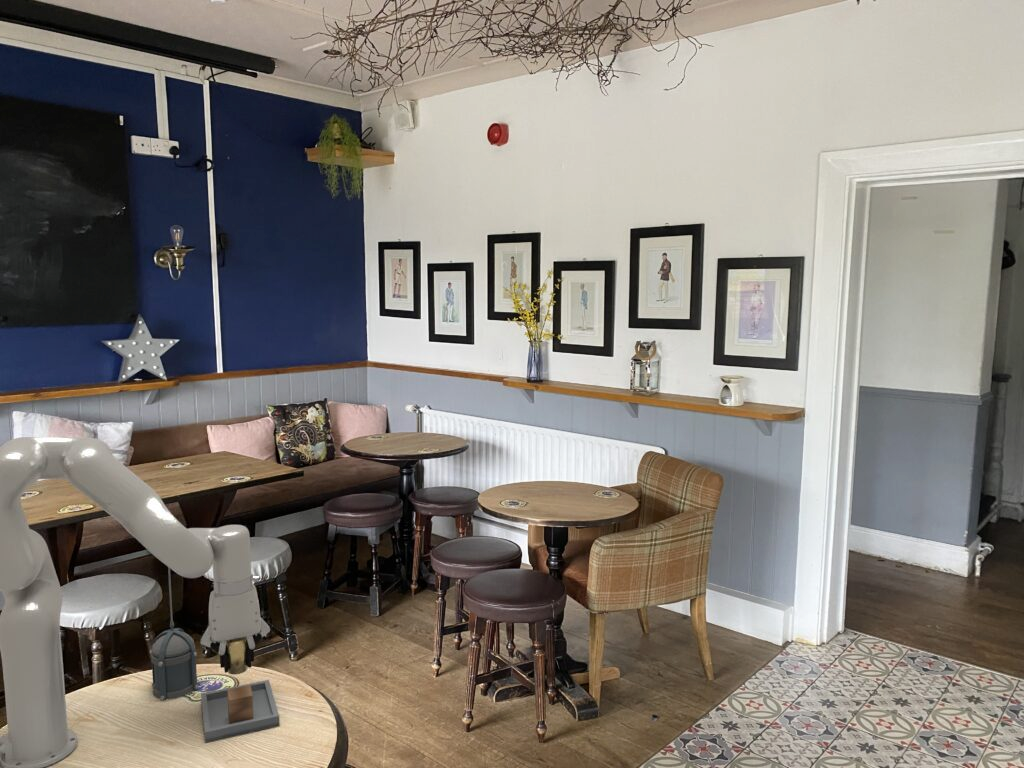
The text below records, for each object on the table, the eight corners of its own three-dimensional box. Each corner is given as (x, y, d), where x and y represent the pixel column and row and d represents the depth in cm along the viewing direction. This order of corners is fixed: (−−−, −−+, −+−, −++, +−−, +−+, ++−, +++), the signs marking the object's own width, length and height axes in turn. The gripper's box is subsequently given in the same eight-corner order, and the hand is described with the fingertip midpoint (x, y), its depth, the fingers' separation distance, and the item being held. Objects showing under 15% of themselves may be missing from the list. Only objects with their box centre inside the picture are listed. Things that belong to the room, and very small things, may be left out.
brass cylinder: (228, 676, 157) (226, 644, 156) (227, 667, 161) (225, 636, 160) (248, 671, 159) (246, 640, 158) (246, 663, 163) (245, 632, 162)
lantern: (209, 677, 173) (204, 551, 169) (185, 702, 162) (178, 568, 159) (165, 675, 174) (159, 550, 170) (138, 699, 163) (131, 566, 160)
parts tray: (205, 742, 147) (204, 732, 147) (201, 703, 162) (200, 693, 162) (279, 726, 153) (279, 715, 153) (269, 689, 168) (268, 679, 167)
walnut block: (229, 728, 151) (228, 700, 150) (228, 717, 155) (227, 689, 154) (253, 723, 153) (252, 695, 152) (251, 712, 157) (250, 685, 156)
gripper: (272, 572, 165) (275, 651, 167) (189, 585, 158) (194, 668, 160) (276, 584, 158) (280, 666, 160) (190, 598, 151) (195, 684, 153)
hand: (237, 666), depth 160 cm, fingers closed on brass cylinder, 4 cm apart
